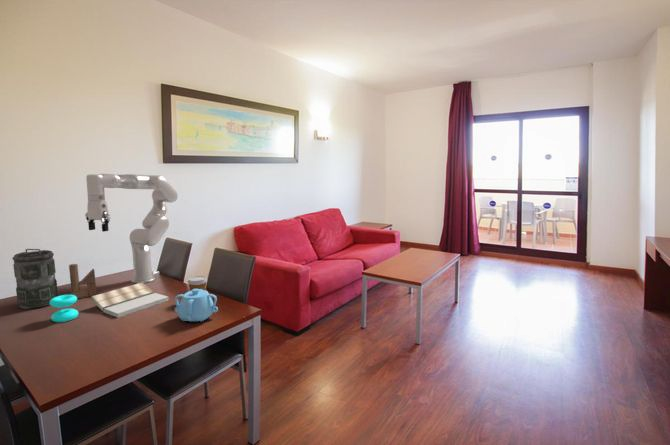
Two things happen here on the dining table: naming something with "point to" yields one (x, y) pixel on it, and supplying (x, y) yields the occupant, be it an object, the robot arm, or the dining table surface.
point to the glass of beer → (197, 282)
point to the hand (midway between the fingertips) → (98, 230)
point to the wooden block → (88, 280)
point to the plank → (120, 295)
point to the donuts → (65, 313)
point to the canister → (35, 278)
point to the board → (135, 304)
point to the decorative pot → (195, 305)
